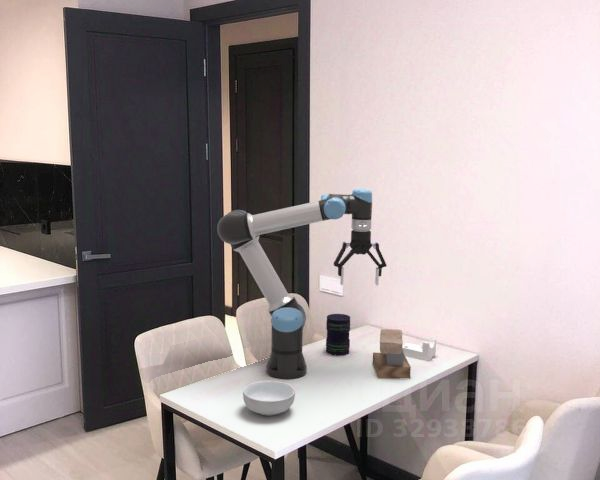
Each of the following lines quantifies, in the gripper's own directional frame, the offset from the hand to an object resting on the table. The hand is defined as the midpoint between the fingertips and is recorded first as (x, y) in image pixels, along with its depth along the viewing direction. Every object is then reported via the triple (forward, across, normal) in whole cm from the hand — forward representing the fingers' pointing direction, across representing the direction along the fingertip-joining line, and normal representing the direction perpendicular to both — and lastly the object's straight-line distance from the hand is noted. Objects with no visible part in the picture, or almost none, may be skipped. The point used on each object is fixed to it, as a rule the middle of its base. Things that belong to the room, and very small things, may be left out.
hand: (359, 284), depth 254 cm
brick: (+22, +12, -9) cm, 27 cm away
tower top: (+27, +13, -9) cm, 31 cm away
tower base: (+32, +12, -9) cm, 35 cm away
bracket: (+32, +26, +8) cm, 42 cm away
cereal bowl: (+32, -35, -45) cm, 65 cm away
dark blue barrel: (+32, -6, +13) cm, 35 cm away
